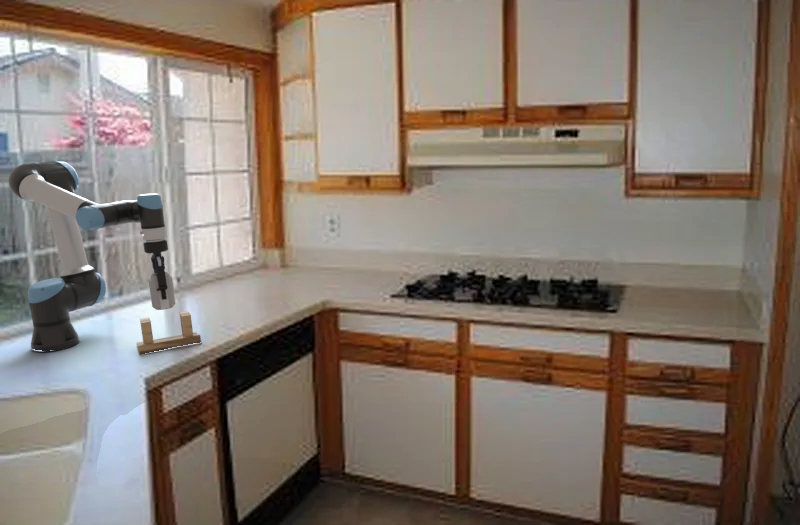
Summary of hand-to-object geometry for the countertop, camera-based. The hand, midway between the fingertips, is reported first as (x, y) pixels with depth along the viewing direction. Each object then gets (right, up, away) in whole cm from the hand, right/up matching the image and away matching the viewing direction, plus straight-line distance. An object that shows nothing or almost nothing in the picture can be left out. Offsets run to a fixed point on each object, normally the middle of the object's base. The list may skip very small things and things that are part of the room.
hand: (164, 305), depth 221 cm
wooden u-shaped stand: (+1, -14, +3) cm, 14 cm away
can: (0, -1, 0) cm, 1 cm away
